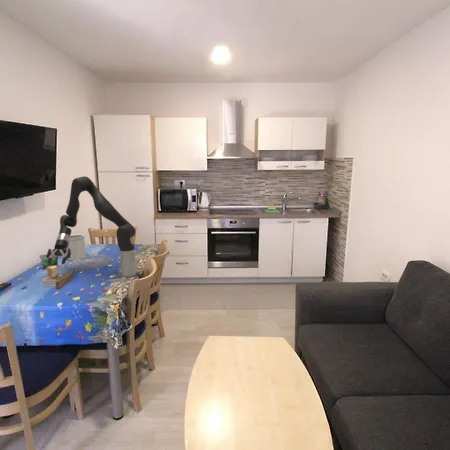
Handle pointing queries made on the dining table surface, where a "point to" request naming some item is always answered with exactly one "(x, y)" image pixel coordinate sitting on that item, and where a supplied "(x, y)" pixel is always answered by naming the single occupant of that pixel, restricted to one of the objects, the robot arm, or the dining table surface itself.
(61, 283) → the rail
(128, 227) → the robot arm
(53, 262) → the food container
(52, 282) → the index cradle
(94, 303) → the dining table surface
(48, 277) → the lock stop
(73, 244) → the utensil holder
